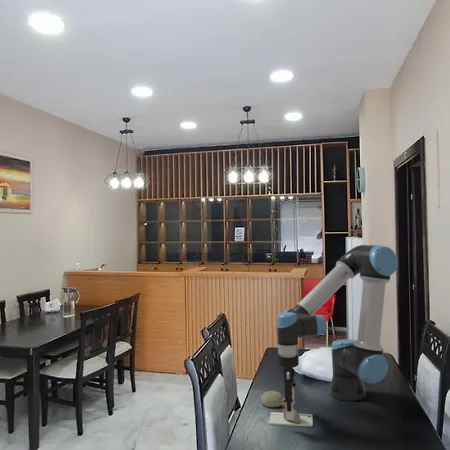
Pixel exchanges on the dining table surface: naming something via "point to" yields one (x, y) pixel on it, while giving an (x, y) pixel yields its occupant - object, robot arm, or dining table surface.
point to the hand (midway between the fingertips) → (290, 411)
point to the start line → (283, 414)
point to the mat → (280, 420)
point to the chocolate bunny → (295, 414)
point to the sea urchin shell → (272, 399)
